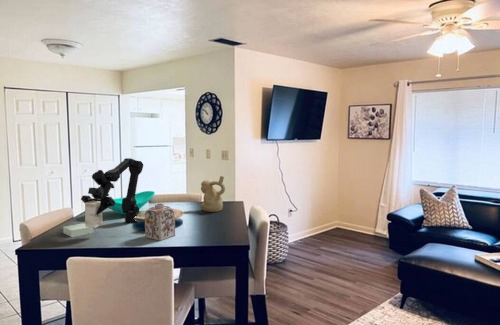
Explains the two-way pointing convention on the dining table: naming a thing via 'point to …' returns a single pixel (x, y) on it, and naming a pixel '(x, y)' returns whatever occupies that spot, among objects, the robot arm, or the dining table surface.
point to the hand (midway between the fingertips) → (91, 213)
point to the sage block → (77, 230)
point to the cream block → (92, 214)
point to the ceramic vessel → (212, 195)
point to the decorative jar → (159, 222)
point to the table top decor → (140, 200)
